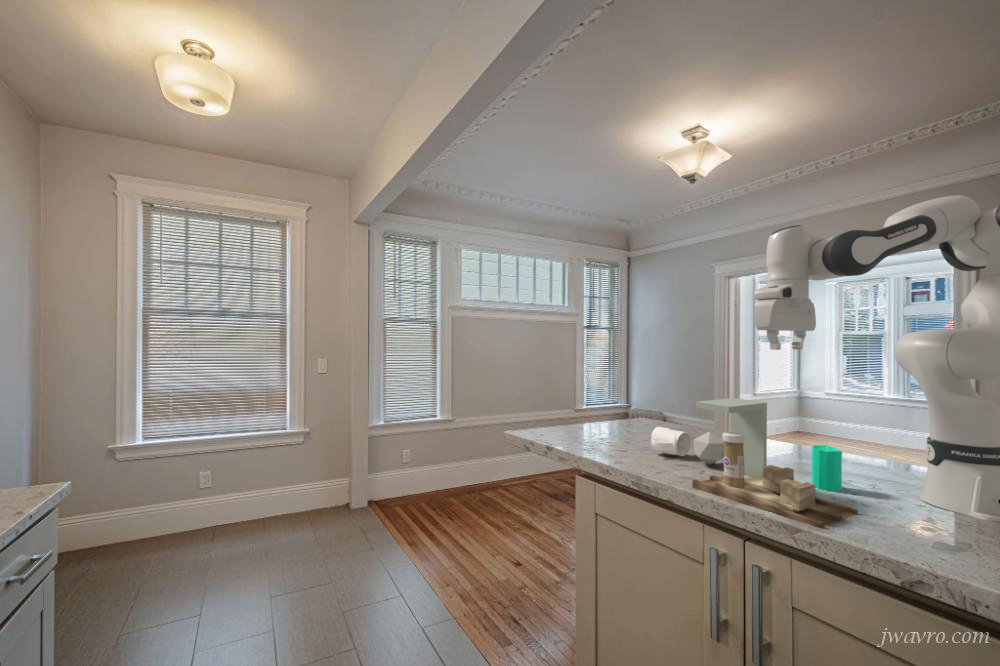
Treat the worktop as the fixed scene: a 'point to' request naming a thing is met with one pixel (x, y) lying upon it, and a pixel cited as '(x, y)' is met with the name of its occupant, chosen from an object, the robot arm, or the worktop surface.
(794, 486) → the bottle strip
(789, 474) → the wooden slider block
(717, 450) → the die
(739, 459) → the sprinkles bottle
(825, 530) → the worktop surface
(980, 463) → the robot arm
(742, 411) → the shelf
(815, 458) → the candle
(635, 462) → the worktop surface
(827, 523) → the lane board
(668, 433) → the mug
